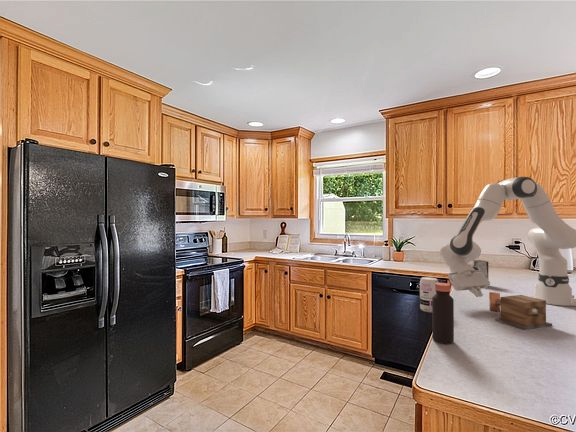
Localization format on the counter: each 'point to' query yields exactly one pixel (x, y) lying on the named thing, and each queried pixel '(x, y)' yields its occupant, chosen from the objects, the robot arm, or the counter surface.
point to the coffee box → (481, 266)
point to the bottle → (443, 314)
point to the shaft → (495, 303)
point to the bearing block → (522, 312)
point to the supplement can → (427, 293)
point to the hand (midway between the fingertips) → (480, 296)
